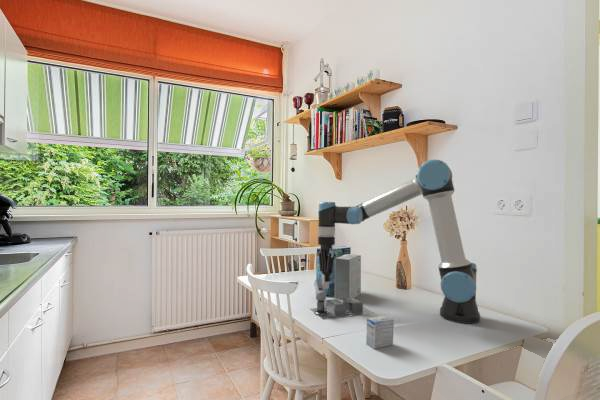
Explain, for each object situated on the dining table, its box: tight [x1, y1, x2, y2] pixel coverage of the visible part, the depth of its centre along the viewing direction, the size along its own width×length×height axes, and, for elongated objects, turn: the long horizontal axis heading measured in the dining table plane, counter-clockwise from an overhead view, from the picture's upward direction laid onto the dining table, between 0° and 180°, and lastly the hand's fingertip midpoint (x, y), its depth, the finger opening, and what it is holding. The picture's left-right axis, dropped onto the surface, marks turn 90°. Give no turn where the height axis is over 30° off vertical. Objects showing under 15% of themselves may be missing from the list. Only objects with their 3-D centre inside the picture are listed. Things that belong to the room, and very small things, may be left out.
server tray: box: [309, 300, 377, 320], centre depth 148 cm, size 14×25×6 cm, turn 112°
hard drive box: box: [334, 253, 362, 301], centre depth 171 cm, size 16×8×20 cm, turn 149°
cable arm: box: [313, 279, 327, 301], centre depth 154 cm, size 25×4×4 cm, turn 1°
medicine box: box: [365, 315, 395, 350], centre depth 115 cm, size 8×4×9 cm, turn 118°
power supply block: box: [325, 298, 346, 315], centre depth 147 cm, size 8×5×4 cm, turn 22°
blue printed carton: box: [315, 245, 352, 296], centre depth 179 cm, size 20×5×23 cm, turn 126°
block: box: [342, 297, 364, 314], centre depth 149 cm, size 8×5×4 cm, turn 22°
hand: (325, 288), depth 158 cm, fingers closed
